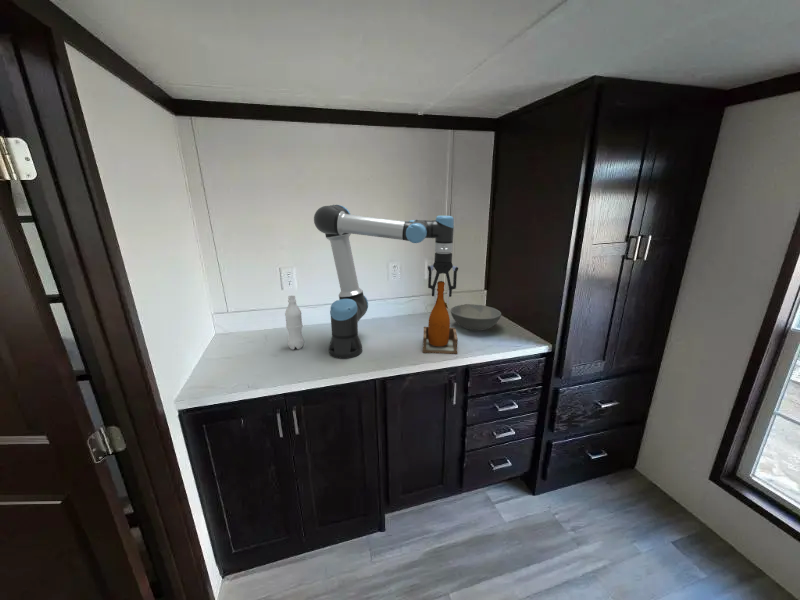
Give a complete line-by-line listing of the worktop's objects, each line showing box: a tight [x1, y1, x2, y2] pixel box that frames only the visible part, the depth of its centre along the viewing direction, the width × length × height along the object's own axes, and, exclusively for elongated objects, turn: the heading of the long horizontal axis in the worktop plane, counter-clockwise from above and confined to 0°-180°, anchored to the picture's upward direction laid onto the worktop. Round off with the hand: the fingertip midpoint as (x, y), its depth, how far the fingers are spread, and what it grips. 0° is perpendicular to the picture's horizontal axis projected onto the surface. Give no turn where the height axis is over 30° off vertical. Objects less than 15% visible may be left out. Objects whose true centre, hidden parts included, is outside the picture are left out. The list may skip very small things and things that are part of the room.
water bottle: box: [284, 295, 305, 351], centre depth 158 cm, size 7×7×25 cm
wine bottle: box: [427, 280, 451, 346], centre depth 158 cm, size 10×10×30 cm
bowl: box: [450, 303, 502, 331], centre depth 185 cm, size 26×26×10 cm
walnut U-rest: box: [422, 326, 459, 355], centre depth 163 cm, size 16×16×7 cm
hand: (441, 303), depth 156 cm, fingers closed on wine bottle, 5 cm apart
